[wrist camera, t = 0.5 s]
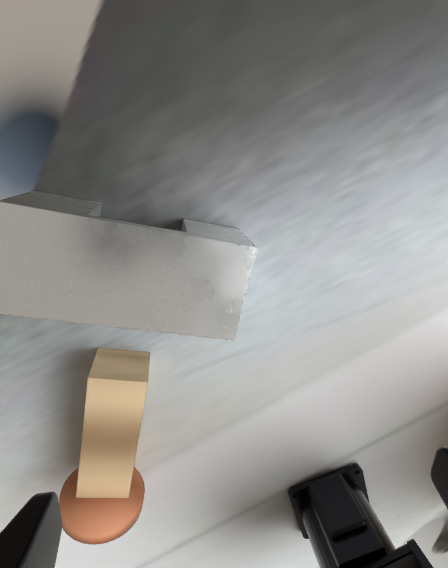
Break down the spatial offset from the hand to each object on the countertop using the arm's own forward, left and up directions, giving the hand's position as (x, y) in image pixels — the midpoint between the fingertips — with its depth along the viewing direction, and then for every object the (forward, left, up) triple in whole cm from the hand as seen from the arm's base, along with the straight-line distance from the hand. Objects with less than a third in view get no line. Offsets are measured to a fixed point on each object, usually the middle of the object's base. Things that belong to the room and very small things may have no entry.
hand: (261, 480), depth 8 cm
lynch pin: (-7, +9, -14) cm, 18 cm away
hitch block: (+3, +3, -14) cm, 14 cm away
